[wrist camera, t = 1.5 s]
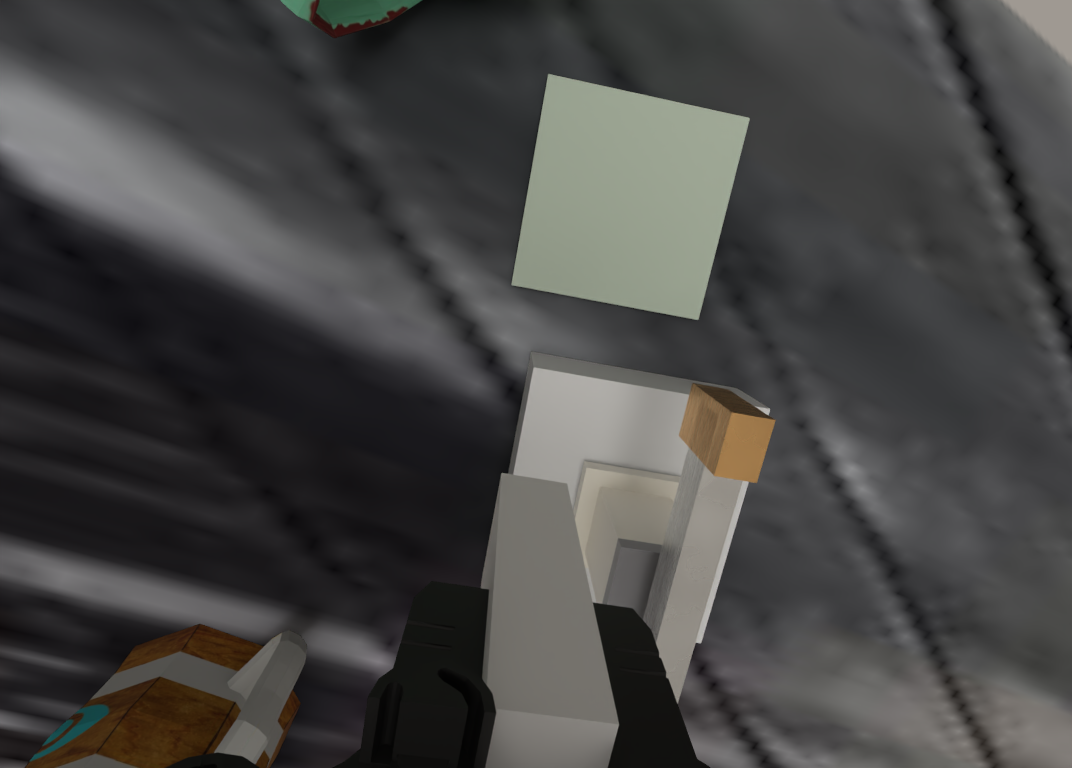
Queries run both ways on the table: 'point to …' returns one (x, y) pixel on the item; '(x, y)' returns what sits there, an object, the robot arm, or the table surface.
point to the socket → (606, 428)
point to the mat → (626, 197)
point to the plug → (622, 530)
